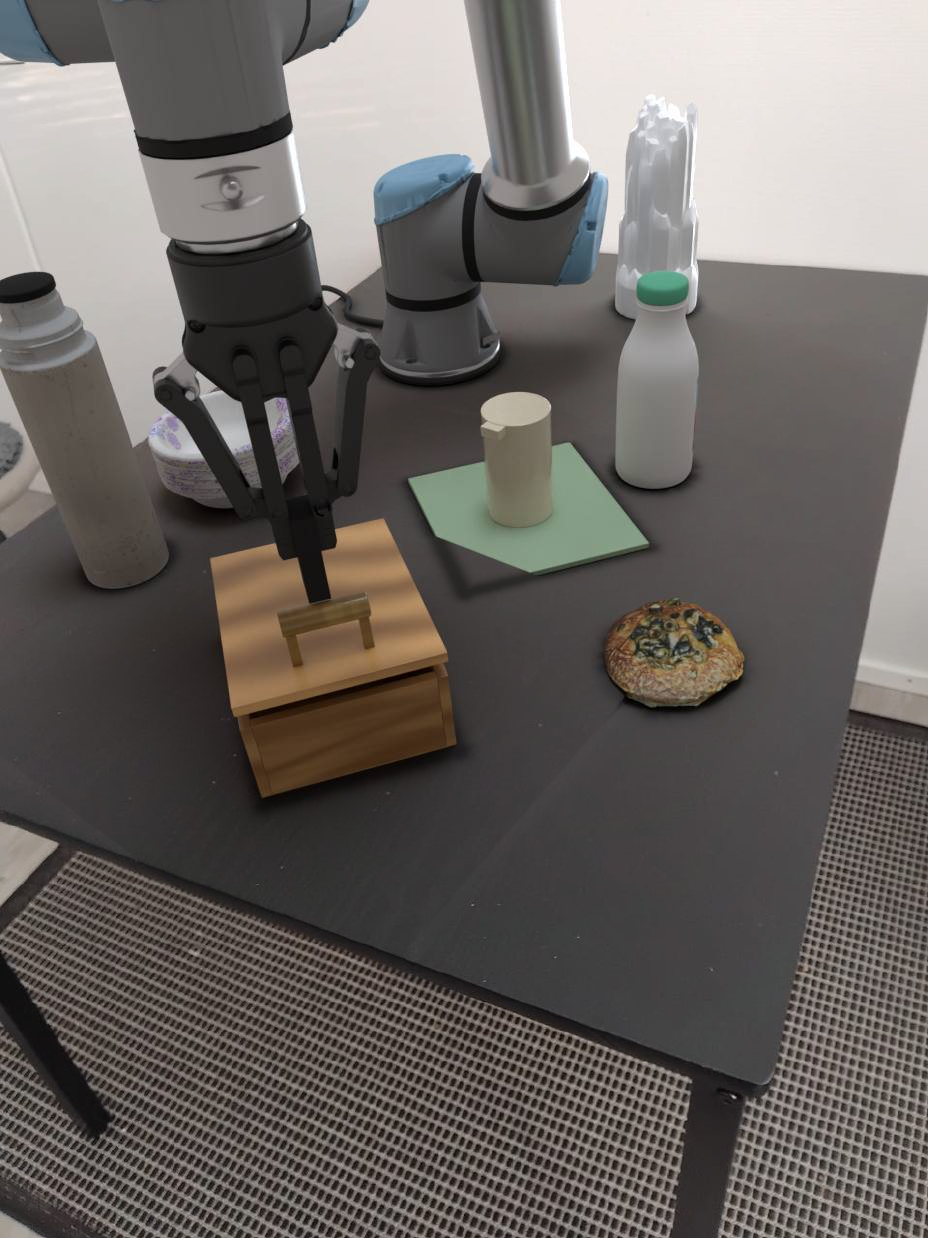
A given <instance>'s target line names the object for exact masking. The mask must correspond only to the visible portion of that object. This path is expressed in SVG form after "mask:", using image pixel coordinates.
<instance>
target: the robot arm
mask: <svg viewBox="0 0 928 1238" xmlns="http://www.w3.org/2000/svg"><path fill="white" fill-rule="evenodd" d="M369 3H370V0H0V54H1V55H3V56H5V57H6V58H9V59H10V60H14V61H17V62H21V63H40V64H42V63H44V64H55V65H56V66H57V67H59V68H60V67H61V68H62V67H63V68H64V67H67V66H68V67H70V65H75V64H76V65H77V64H78V65H79V64H97V63H101V64H102V63H115V67H116V69H117V73H118V76H119V80H120V82H121V86H122V89H123V93H124V96H125V100H126V103H127V107H128V110H129V115H130V117H131V121H132V124H133V127H134V129H133V133H134V137H135V141H136V144H137V147H138V149H137V152H138V154H139V159H140V162H141V165H142V169H143V173H144V178H145V181H146V184H147V187H148V188H147V189H148V191H149V196H150V198H151V201H152V206H153V210H154V213H155V216H156V220H157V223H158V228H159V230H160V233H161V234H163V235H164V236H166V237H168V239H170V240H169V242H168V245H167V247H166V249H165V254H166V257H167V262H168V265H169V269H170V272H171V277H172V281H173V283H174V287H175V291H176V295H177V299H178V302H179V306H180V310H181V313H182V317H183V321H184V329H183V333H182V335H181V336H182V337H181V347H182V352H181V353H180V355H178V356H177V357H176V358H175V359H174V360H173V361H172V362H171V363H170V364H169V365H168V366H164V365H163V366H158V367H157V368H155V369H154V370H153V372H152V376H151V377H152V384H153V395H154V398H155V400H156V401H157V403H158V404H160V405H161V406H162V407H164V408H165V409H166V410H167V411H170V412H171V413H172V414H174V415H175V416H176V417H177V418H178V419H180V420H181V421H182V422H183V424H184V426H185V427H186V429H187V431H188V432H189V434H190V436H191V437H192V439H193V441H194V442H195V444H196V446H197V447H198V449H199V451H200V452H201V454H202V456H203V457H204V459H205V461H206V462H207V464H208V466H209V467H210V469H211V471H212V472H213V474H214V476H215V477H216V479H217V481H218V482H219V484H220V486H221V487H222V489H223V491H224V492H225V494H226V496H227V497H228V499H229V501H230V502H231V504H232V506H233V507H234V508H233V509H234V511H235V512H236V514H237V516H238V517H239V518H240V519H242V520H248V521H249V520H251V519H253V518H255V517H260V518H261V517H262V518H265V519H266V520H268V522H269V523H270V526H271V529H272V534H273V538H274V542H275V543H276V546H277V550H278V554H279V556H280V557H281V558H282V560H283V561H284V560H288V559H292V558H298V562H299V567H300V571H301V575H302V580H303V583H304V587H305V590H306V594H307V597H308V601H309V604H311V603H315V602H319V601H324V600H328V599H331V594H330V589H329V585H328V580H327V575H326V570H325V566H324V561H323V556H322V552H321V551H325V550H330V549H334V548H336V544H337V537H336V532H335V529H336V528H335V522H334V518H333V504H334V502H335V501H337V500H338V499H340V498H342V497H345V498H348V497H352V496H353V495H355V493H357V491H358V482H359V472H360V462H361V454H362V453H361V451H362V441H363V432H364V422H365V412H366V411H365V410H366V400H367V392H368V391H367V389H368V382H369V380H370V378H371V376H372V375H373V372H374V370H375V369H376V366H377V365H378V362H379V364H380V368H381V370H382V372H383V373H385V374H386V375H387V376H388V377H389V378H391V379H393V380H396V381H399V382H401V383H403V384H409V385H416V386H443V385H451V384H456V383H461V382H465V381H467V380H471V379H474V378H476V377H478V376H481V375H483V374H484V373H486V372H488V371H489V370H490V369H492V368H493V367H494V366H496V364H497V363H498V361H499V360H500V356H501V344H500V339H501V334H500V331H497V329H496V327H495V324H494V322H493V319H492V317H491V314H490V312H489V309H488V307H487V304H486V301H485V299H484V297H483V294H482V283H496V284H512V285H513V284H515V285H537V286H552V287H554V288H556V287H559V286H569V285H571V286H572V285H576V286H577V285H578V286H579V285H582V284H585V283H586V282H588V281H589V280H590V279H591V278H592V276H593V275H594V273H595V271H596V267H597V264H598V261H599V260H598V259H599V255H600V251H601V246H602V245H601V244H602V241H603V240H602V239H603V234H604V230H605V222H606V216H607V208H608V199H609V179H608V176H607V175H606V174H605V173H601V172H599V171H598V170H597V171H593V172H592V173H591V162H590V157H589V155H588V153H587V150H585V148H584V147H583V146H582V145H581V144H579V142H577V141H575V140H574V137H573V128H572V117H571V105H570V95H569V84H568V83H569V82H568V74H567V73H568V72H567V62H566V61H567V60H566V50H565V49H566V48H565V39H564V28H563V27H564V26H563V17H562V7H561V0H463V4H464V10H465V16H466V22H467V28H468V33H469V38H470V44H471V48H472V49H471V51H472V55H473V61H474V67H475V68H474V69H475V72H476V73H475V74H476V78H477V84H478V89H479V96H480V101H481V107H482V112H483V113H482V114H483V119H484V124H485V129H486V135H487V141H488V146H489V152H490V157H489V158H488V159H487V161H486V162H485V164H484V166H483V168H482V171H481V172H475V168H476V167H475V164H474V163H473V160H472V158H471V157H470V156H468V155H465V154H463V155H461V154H460V153H447V154H446V153H445V154H439V155H433V156H428V157H423V158H419V159H416V160H412V161H409V162H406V163H404V164H403V163H402V164H401V165H398V166H396V167H394V168H392V169H390V170H389V171H387V172H385V173H384V174H382V175H381V176H380V177H379V178H378V179H377V181H376V183H375V185H374V187H373V191H372V193H373V206H374V207H373V208H374V218H373V223H374V225H375V229H376V236H377V243H378V250H379V257H380V265H381V271H382V272H381V273H382V278H383V284H384V291H385V300H386V301H385V302H386V308H385V312H384V319H383V320H382V319H377V318H371V317H365V316H361V315H357V314H354V313H353V312H351V311H350V309H351V307H352V304H353V301H352V298H351V296H350V295H349V294H348V293H347V292H345V291H343V290H341V289H339V288H337V287H335V286H332V285H328V284H322V282H321V276H320V272H319V265H318V259H317V254H316V253H317V252H316V249H315V243H314V236H313V231H312V228H311V226H310V225H309V223H307V222H306V221H305V220H304V219H302V217H303V216H304V215H305V213H306V211H307V209H308V204H307V198H306V194H305V188H304V184H303V183H304V182H303V176H302V171H301V166H300V161H299V156H298V149H297V144H296V139H295V133H294V124H293V119H292V113H291V109H290V103H289V96H288V92H287V90H288V89H287V83H286V77H285V72H284V66H286V65H289V63H292V62H294V61H296V60H298V59H299V58H302V57H304V56H306V55H308V54H310V53H312V52H314V51H316V50H323V49H326V48H327V47H329V46H330V44H331V43H332V44H335V43H336V42H337V41H338V39H339V38H341V37H343V35H344V33H345V32H347V31H348V30H349V29H350V28H352V27H353V26H354V25H355V24H356V23H357V22H358V21H359V20H360V18H361V17H362V16H363V14H364V13H365V11H366V9H367V7H368V5H369ZM323 292H330V293H333V294H335V295H336V296H339V297H340V298H342V299H344V300H345V303H344V306H343V314H344V316H345V317H346V318H347V319H349V320H352V321H354V322H356V323H360V324H365V325H372V326H377V327H382V330H381V334H380V341H379V345H378V343H377V340H375V338H374V336H373V334H372V332H371V331H370V330H369V328H366V327H363V326H362V327H358V328H356V329H353V328H351V327H348V326H347V325H343V324H341V323H339V322H338V320H337V318H336V316H335V315H334V313H333V310H332V309H331V308H330V307H329V306H328V304H327V303H326V302H325V301H326V300H325V298H324V294H323ZM333 346H334V351H333V355H334V358H335V360H336V363H337V364H338V371H337V383H336V395H335V408H334V418H333V419H334V420H333V421H334V422H333V432H332V433H333V434H332V444H331V445H332V447H331V459H330V470H328V471H326V472H325V469H324V464H323V459H322V453H321V448H320V443H319V439H318V433H317V428H316V423H315V419H314V415H313V404H312V400H311V395H310V391H309V390H310V389H309V388H310V387H311V386H312V385H313V383H314V382H315V381H316V378H317V376H318V374H319V372H320V371H321V368H322V366H323V365H324V362H325V361H326V358H327V357H328V354H329V353H330V351H331V349H332V347H333ZM197 372H198V373H199V374H201V375H202V377H204V378H206V379H207V380H208V381H209V382H211V383H212V384H213V386H216V387H217V388H218V389H220V391H221V390H222V391H223V392H224V393H226V394H227V395H228V396H229V397H231V398H232V399H234V400H236V401H239V402H241V404H242V408H243V412H244V416H245V420H246V424H247V428H248V432H249V437H250V441H251V445H252V449H253V453H254V457H255V461H256V465H257V469H258V474H259V478H260V482H261V486H262V488H255V487H251V485H250V484H249V482H248V480H247V478H246V477H245V475H244V473H243V471H242V470H241V468H240V466H239V464H238V463H237V461H236V459H235V457H234V456H233V454H232V452H231V450H230V449H229V447H228V445H227V443H226V442H225V440H224V438H223V436H222V435H221V433H220V431H219V429H218V428H217V426H216V424H215V422H214V421H213V419H212V417H211V415H210V414H209V412H208V410H207V408H206V407H205V405H204V403H203V401H202V400H201V398H200V397H199V396H201V386H200V382H199V378H197V376H196V375H197ZM273 398H285V399H286V403H287V408H288V412H289V417H290V421H291V426H292V431H293V435H294V440H295V444H296V449H297V454H298V458H299V463H298V464H299V466H300V473H301V476H302V481H303V485H304V489H305V492H306V494H302V495H298V496H293V497H289V498H286V494H285V489H284V485H283V484H282V480H281V476H280V471H279V467H278V463H277V458H276V454H275V449H274V445H273V441H272V436H271V432H270V427H269V423H268V417H267V413H266V409H265V404H264V403H265V402H267V401H269V400H271V399H273Z"/></svg>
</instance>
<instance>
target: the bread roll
mask: <svg viewBox="0 0 928 1238" xmlns="http://www.w3.org/2000/svg"><path fill="white" fill-rule="evenodd" d="M604 638H605V640H604V646H603V656H604V664H605V667H606V671H607V673H608V675H609V677H611V679H612V681H613V682H614V683H615V684H616V685H617V686H619V688H620V689H622V690H623V691H624V692H626V694H625V696H626V697H627V698H628V699H632V700H634V702H635V701H637V702H639V703H641V704H643V705H645V706H647V707H649V708H656V707H679V706H680V707H686V706H687V707H689V706H690V707H691V706H694V707H698V706H699V705H700V704H702V703H704V702H705V701H707V700H708V699H709V698H711V697H712V696H713V695H715V694H717V693H719V692H720V691H722V690H723V689H724V688H725V687H726V686H727V685H728V684H730V683H732V682H733V681H737V680H739V678H740V677H741V676H742V675H743V673H744V669H743V668H744V663H743V662H744V661H745V660H746V659H745V656H744V654H743V652H742V651H741V650H740V649H739V648H738V645H737V641H736V639H735V638H734V636H733V634H732V631H731V630H730V629H729V628H728V627H727V626H726V625H725V624H724V623H723V622H722V621H721V619H720V618H719V617H718V616H716V615H714V614H712V613H711V612H710V611H709V610H707V609H704V608H702V607H700V606H699V605H698V604H695V603H689V602H686V601H681V600H680V598H679V597H674V598H668V599H660V600H657V601H649V602H647V603H645V604H643V605H642V606H640V607H638V608H636V609H634V610H631V611H629V612H627V613H626V614H624V615H621V617H620V618H619V619H618V620H616V621H614V622H613V623H612V624H611V626H610V627H609V628H608V631H607V632H606V636H605V637H604Z"/></svg>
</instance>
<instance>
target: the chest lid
mask: <svg viewBox="0 0 928 1238" xmlns="http://www.w3.org/2000/svg"><path fill="white" fill-rule="evenodd" d="M387 524H388V523H387V522H386V520H385V518H384V517H382V518H378V519H373V520H370V521H365V522H360V523H356V524H352V525H348V526H343V527H339V528H335V532H336V537H337V544H336V548H334V549H330V550H325V551H321V552H322V556H323V561H324V566H325V570H326V575H327V580H328V585H329V589H330V594H331V599H328V600H324V601H319V602H315V603H311V604H309V601H308V597H307V594H306V590H305V587H304V583H303V580H302V575H301V571H300V567H299V562H298V558H292V559H288V560H284V561H283V560H282V558H281V557H280V556H279V554H278V550H277V546H276V542H275V543H270V544H266V545H261V546H257V547H252V548H248V549H244V550H239V551H236V552H232V553H227V554H222V555H219V556H213V557H210V558H209V561H210V568H211V575H212V582H213V589H214V596H215V601H216V602H215V603H216V610H217V617H218V624H219V625H218V626H219V631H220V639H221V645H222V652H223V661H224V666H225V674H226V680H227V688H228V694H229V703H230V709H231V712H232V716H233V717H234V718H238V716H241V715H245V714H249V713H253V712H257V711H261V710H264V709H268V708H272V707H276V706H280V705H284V704H287V703H291V702H295V701H299V700H303V699H307V698H310V697H314V696H318V695H322V694H326V693H330V692H333V691H337V690H341V689H345V688H349V687H353V686H356V685H360V684H364V683H368V682H372V681H376V680H379V679H383V678H387V677H391V676H395V675H399V674H402V673H406V672H410V671H414V670H418V669H422V668H425V667H429V666H433V665H437V664H441V663H443V664H445V663H447V662H449V654H448V651H447V648H446V646H445V645H444V643H443V640H442V638H441V636H440V634H439V632H438V630H437V628H436V625H435V624H434V621H433V619H432V617H431V615H430V613H429V610H428V609H427V606H426V604H425V602H424V601H423V598H422V596H421V594H420V592H419V590H418V588H417V586H416V583H415V582H414V579H413V577H412V575H411V573H410V571H409V569H408V567H407V564H406V562H405V560H404V558H403V556H402V553H401V551H400V550H399V548H398V546H397V543H396V541H395V539H394V537H393V535H392V533H391V531H390V528H389V526H388V525H387Z"/></svg>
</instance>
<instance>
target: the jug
mask: <svg viewBox="0 0 928 1238" xmlns="http://www.w3.org/2000/svg"><path fill="white" fill-rule="evenodd" d="M480 422H481V423H480V424H481V425H480V436H481V438H482V449H483V462H484V463H485V477H486V490H487V503H488V513H489V515H490V517H491V518H492V519H493V520H494V521H495V522H497V523H498V524H501V525H504V526H507V527H514V528H523V527H530V526H534V525H537V524H539V523H542V522H543V521H545V520H546V519H548V518H549V517H550V515H551V514H552V512H553V469H552V446H553V436H552V435H553V433H552V432H553V431H552V405H551V403H550V401H549V400H548V399H547V398H546V397H544V396H542V395H540V394H537V393H533V392H526V391H513V392H511V391H510V392H505V393H500V394H497V395H495V396H493V397H490V398H489V399H488V400H486V401H485V402H484V403H483V404H482V406H481V408H480Z"/></svg>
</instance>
